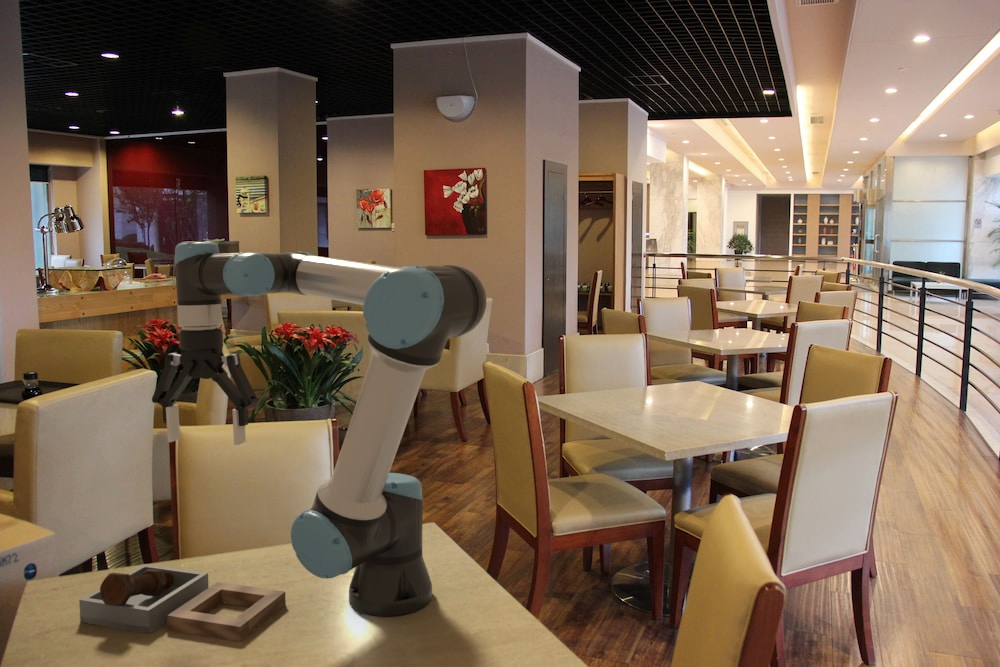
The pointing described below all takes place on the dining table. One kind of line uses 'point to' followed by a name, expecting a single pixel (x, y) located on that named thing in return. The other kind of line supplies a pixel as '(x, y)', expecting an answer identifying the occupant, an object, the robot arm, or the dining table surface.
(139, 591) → the bolt
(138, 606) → the tray
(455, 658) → the dining table surface
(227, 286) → the robot arm
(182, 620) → the rectangular frame
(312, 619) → the dining table surface
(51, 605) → the dining table surface
